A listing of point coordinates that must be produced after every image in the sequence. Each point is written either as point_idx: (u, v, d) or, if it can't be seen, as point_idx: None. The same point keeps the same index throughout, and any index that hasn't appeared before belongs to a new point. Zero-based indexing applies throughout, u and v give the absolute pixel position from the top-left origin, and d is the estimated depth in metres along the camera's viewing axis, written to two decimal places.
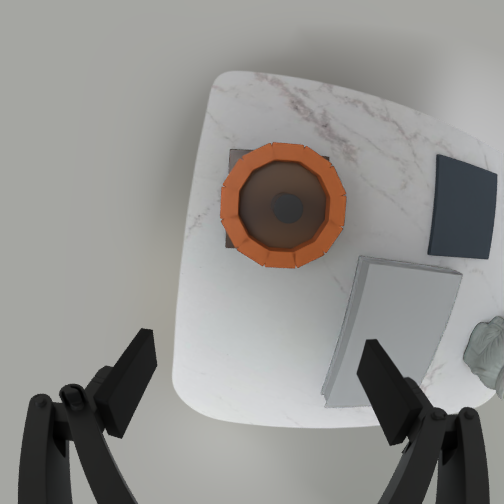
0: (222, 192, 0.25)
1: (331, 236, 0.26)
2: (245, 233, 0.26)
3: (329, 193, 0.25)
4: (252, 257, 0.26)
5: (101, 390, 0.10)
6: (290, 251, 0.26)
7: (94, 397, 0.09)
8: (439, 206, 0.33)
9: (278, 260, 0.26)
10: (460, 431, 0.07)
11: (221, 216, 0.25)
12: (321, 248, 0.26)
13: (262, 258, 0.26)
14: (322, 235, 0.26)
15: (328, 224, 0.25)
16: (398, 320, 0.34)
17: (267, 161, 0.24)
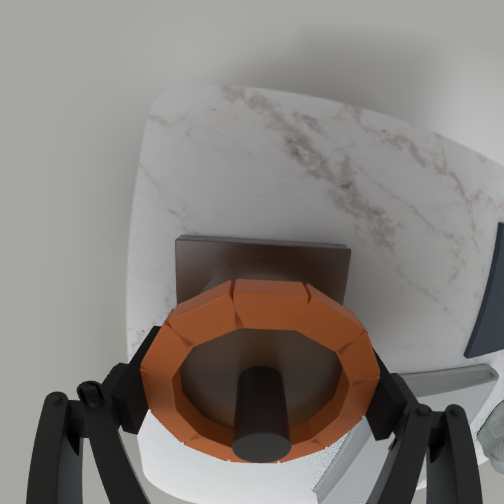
0: (142, 376, 0.12)
1: (340, 430, 0.12)
2: (193, 431, 0.12)
3: (349, 378, 0.12)
4: (209, 453, 0.13)
5: (118, 386, 0.10)
6: None
7: (111, 393, 0.10)
8: (491, 297, 0.20)
9: None
10: (447, 429, 0.08)
11: (149, 407, 0.12)
12: (321, 444, 0.13)
13: (225, 455, 0.13)
14: (325, 431, 0.12)
15: (338, 418, 0.12)
16: None
17: (223, 332, 0.11)
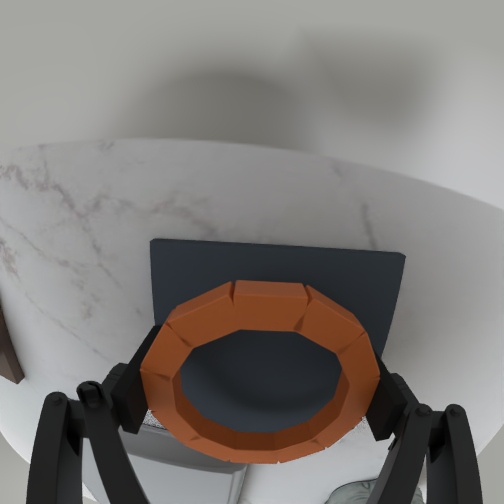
0: (143, 377, 0.12)
1: (340, 431, 0.12)
2: (193, 431, 0.12)
3: (349, 379, 0.12)
4: (209, 454, 0.13)
5: (118, 386, 0.10)
6: (270, 447, 0.13)
7: (111, 393, 0.10)
8: None
9: (250, 458, 0.13)
10: (447, 429, 0.08)
11: (149, 407, 0.12)
12: (321, 444, 0.13)
13: (225, 455, 0.13)
14: (325, 432, 0.12)
15: (338, 419, 0.12)
16: None
17: (223, 333, 0.11)
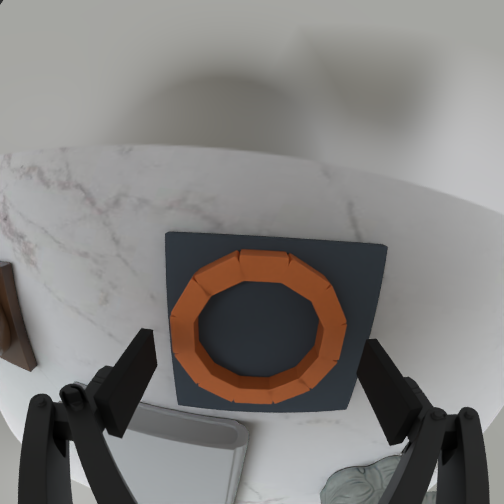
0: (171, 323, 0.17)
1: (321, 372, 0.18)
2: (206, 370, 0.18)
3: (322, 323, 0.17)
4: (217, 393, 0.19)
5: (101, 390, 0.10)
6: (266, 387, 0.19)
7: (94, 397, 0.09)
8: None
9: (250, 397, 0.19)
10: (460, 431, 0.07)
11: (174, 350, 0.18)
12: (306, 385, 0.18)
13: (230, 395, 0.19)
14: (308, 372, 0.18)
15: (318, 360, 0.18)
16: (132, 466, 0.20)
17: (232, 284, 0.17)
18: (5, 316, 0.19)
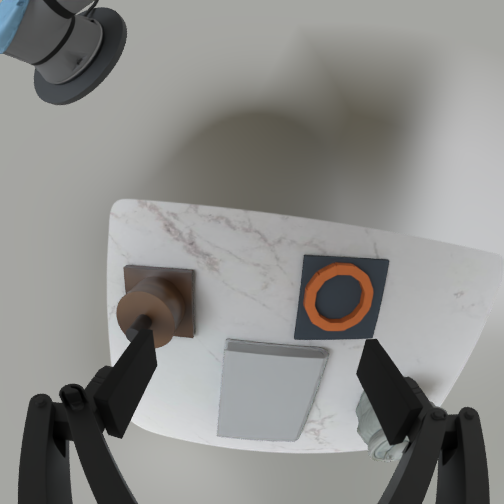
0: (307, 293, 0.43)
1: (363, 313, 0.44)
2: (318, 314, 0.44)
3: (364, 291, 0.43)
4: (320, 326, 0.44)
5: (101, 390, 0.10)
6: (340, 322, 0.44)
7: (94, 397, 0.09)
8: (302, 301, 0.45)
9: (334, 327, 0.44)
10: (460, 431, 0.07)
11: (305, 306, 0.43)
12: (357, 320, 0.44)
13: (325, 326, 0.44)
14: (358, 313, 0.44)
15: (362, 307, 0.43)
16: (260, 387, 0.46)
17: (333, 276, 0.42)
18: (184, 303, 0.44)
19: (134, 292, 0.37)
